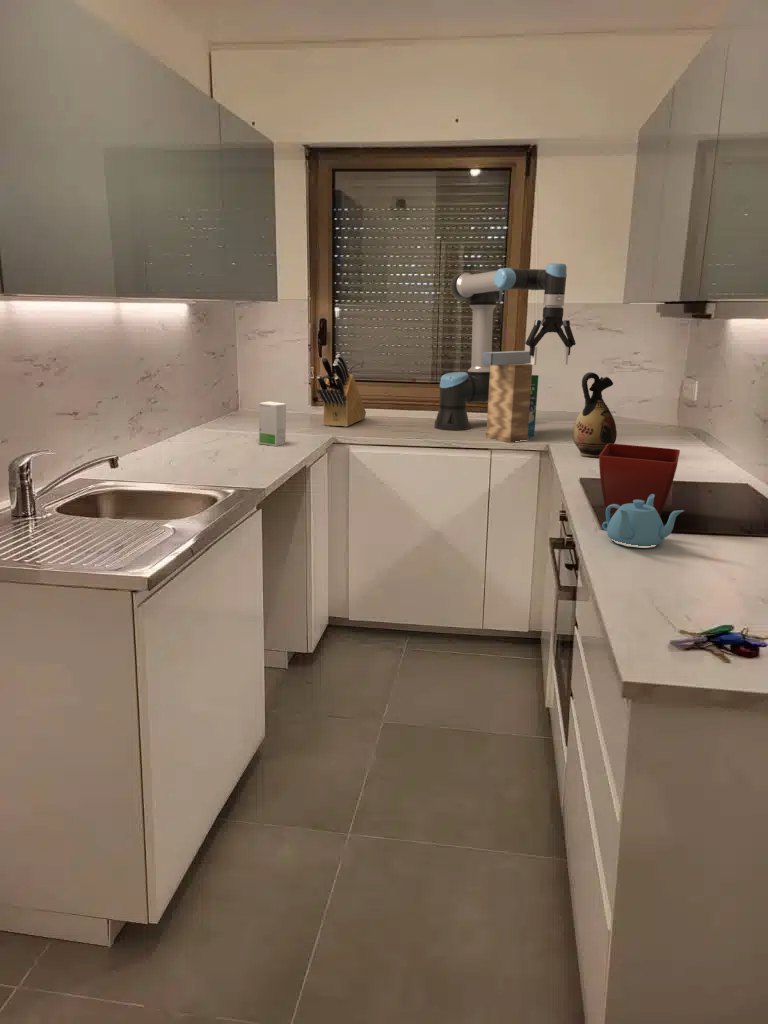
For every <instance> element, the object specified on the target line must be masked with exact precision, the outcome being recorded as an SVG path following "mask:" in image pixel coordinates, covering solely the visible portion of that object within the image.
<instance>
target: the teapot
mask: <svg viewBox="0 0 768 1024" xmlns="http://www.w3.org/2000/svg"><path fill="white" fill-rule="evenodd" d="M654 497H655V495H654V494H651V495H650V496H649V497H648V499H647V502H646V505H645V504H644V503H645V501H643V500H633V503H628V504H623V505H622V506H619V505H617V504H612V505H609V506H608V507H607V508H606V509H605V520H606V521H604V522H603V523H602V524H601V528H602V529H603V531H606V534H607V536H608V537H610V538H611V539H613V540H615V541H618V542H622V543H626V544H631V545H638V546H651V545H657V544H659V543H660V544H661V543H662V542H663V541H664V540H665V538H667V537H668V536H670V535H671V533H672V531H673V530H674V527H675V522H676V518H677V517H678V515H680V514H682V513H683V512H685V510H683V509H680V510H679V509H678V510H673V511H672V512H671V513H670V514H669V517H668V519H667V522H666V524H664V523H663V521H662V517H661V515H660V516H659V514H658V512H657V511H656V509H655V508H654V507H653V501H654ZM612 507H614V508H617V509H618V510H617V511H616V512H615V514H614V515H613V516H610V509H611V508H612ZM610 538H609V539H610ZM611 539H610V540H611ZM660 544H659V545H660ZM657 546H658V545H657Z"/></svg>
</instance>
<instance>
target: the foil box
mask: <svg viewBox="0 0 768 1024" xmlns="http://www.w3.org/2000/svg"><path fill="white" fill-rule="evenodd" d="M507 364H531V356H530V350H514V351H512V350H511V351H492V352H483V353H482V365H490V366H492V365H507Z"/></svg>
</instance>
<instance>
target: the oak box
mask: <svg viewBox="0 0 768 1024" xmlns="http://www.w3.org/2000/svg"><path fill="white" fill-rule="evenodd" d="M532 375H533V365H532V364H531V363H525V364H507V365H492V366H490V379H489V397H488V401H487V402H488V403H487V419H486V432H485V439H488V438H490V439H489V440H493V439H496V440H495V441H498V440H500V442H503V441H506V442H505V443H508V442H514V443H516V442H515V441H520V440H528V441H529V436H528V423H529V408H530V394H531V379H532Z"/></svg>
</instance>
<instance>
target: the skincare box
mask: <svg viewBox="0 0 768 1024" xmlns="http://www.w3.org/2000/svg"><path fill="white" fill-rule="evenodd" d="M258 406H259V407H258V443H259V445H265V446H271V447H279V445H280V446H284V445H286V437H287V436H286V434H287V433H286V428H287V427H286V426H287V424H286V423H287V404H286V403H283V402H276V401H270V400H269V401H264V402H259V405H258Z"/></svg>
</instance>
